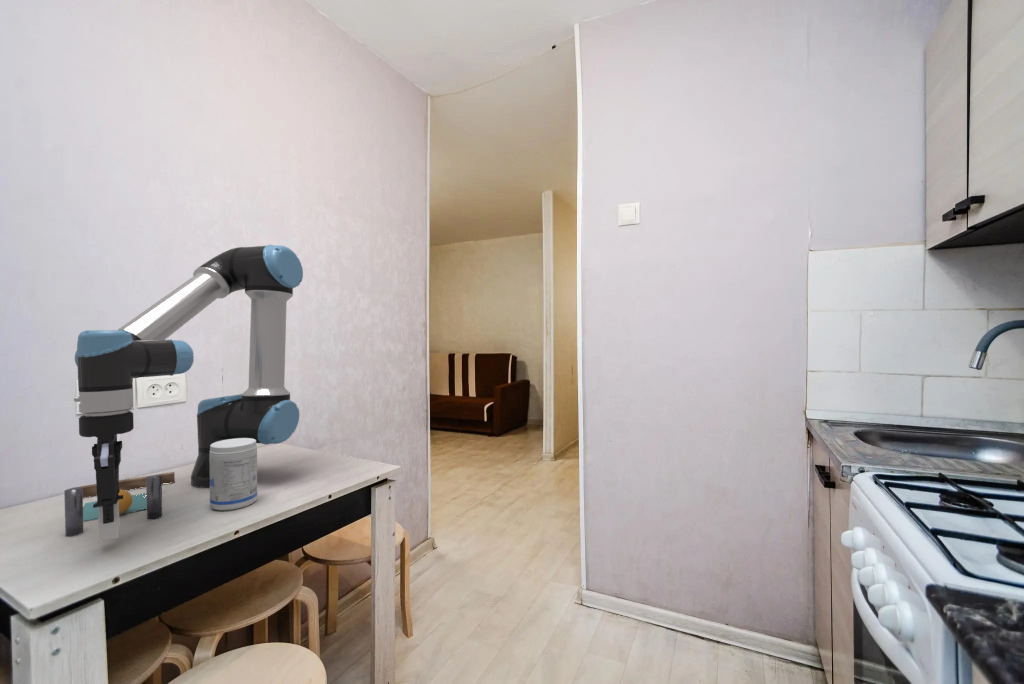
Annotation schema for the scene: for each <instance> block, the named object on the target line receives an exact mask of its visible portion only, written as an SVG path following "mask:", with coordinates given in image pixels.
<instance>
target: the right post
mask: <svg viewBox="0 0 1024 684" xmlns="http://www.w3.org/2000/svg"><path fill="white" fill-rule="evenodd" d="M147 476H148V477H146V488H145V489H146V492H145V493H147V510H146V519H154V520H157V519H156V518H158V519H160V518H162V517H163V494H162V493H163V492H162V491H163V490H162V479H161V475H157V474H152V476H151V475H147ZM161 516H162V517H161ZM159 517H160V518H159Z"/></svg>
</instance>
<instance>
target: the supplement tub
mask: <svg viewBox="0 0 1024 684" xmlns="http://www.w3.org/2000/svg"><path fill="white" fill-rule="evenodd" d="M209 462H210V487H209V506H210V507H211V509H213V510H216V511H231V510H233V511H234V510H237V509H241V508H244V507H247V506H249V505H251V504H253V503H255V501H257V499H258V446H257V443H256V440H255V439H252V438H235V439H227V440H222V441H218V442H215V443H212V444H211V445H210V454H209Z"/></svg>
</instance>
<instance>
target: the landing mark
mask: <svg viewBox="0 0 1024 684" xmlns="http://www.w3.org/2000/svg"><path fill="white" fill-rule="evenodd" d="M142 493H143V495H142ZM142 493H138V495H137V493H136V494H131V496H132V504H131V506H130V508H129V509H128V510H127V511H125V512H124V513H122V514H121V515H125V513H126V514H131V513H135V512H134V511H137V512H140V511H139V510H142V511H145V510H144V509H147V496H146V497H145V495H147V493H146V492H142ZM145 493H146V494H145ZM139 494H140V495H139ZM136 495H137V496H136ZM143 496H144V497H145V498H144V497H143ZM94 503H97V501H92V502H91V501H90V502H86V503H84V504H83V523H85V522H88V521H89V520H90V521H94V519H95V520H99V519H98V518H99V507H96V508H93V505H94ZM130 512H131V513H130ZM84 521H85V522H84Z"/></svg>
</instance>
